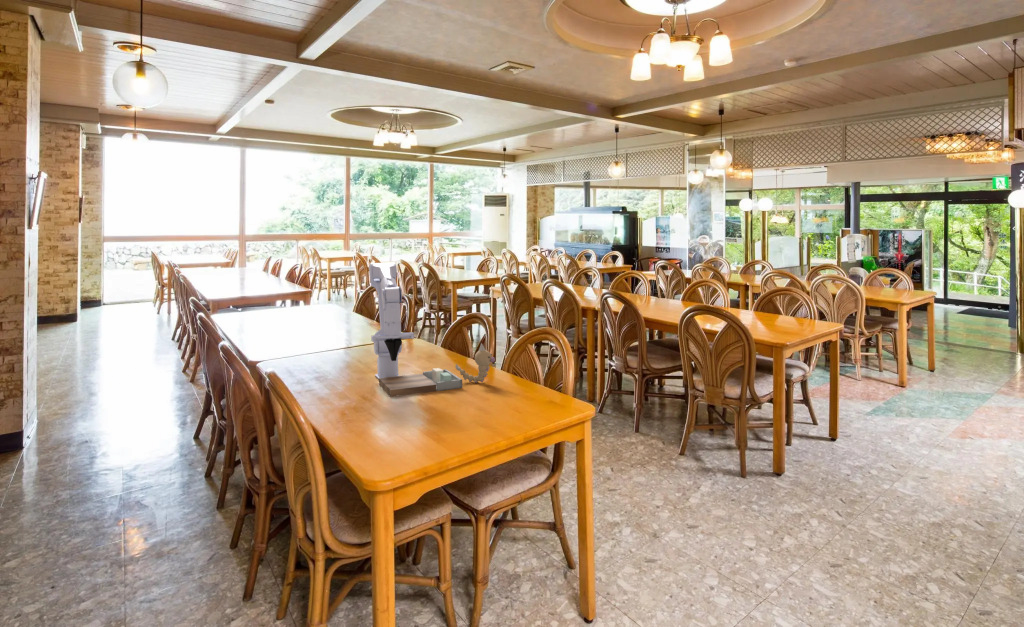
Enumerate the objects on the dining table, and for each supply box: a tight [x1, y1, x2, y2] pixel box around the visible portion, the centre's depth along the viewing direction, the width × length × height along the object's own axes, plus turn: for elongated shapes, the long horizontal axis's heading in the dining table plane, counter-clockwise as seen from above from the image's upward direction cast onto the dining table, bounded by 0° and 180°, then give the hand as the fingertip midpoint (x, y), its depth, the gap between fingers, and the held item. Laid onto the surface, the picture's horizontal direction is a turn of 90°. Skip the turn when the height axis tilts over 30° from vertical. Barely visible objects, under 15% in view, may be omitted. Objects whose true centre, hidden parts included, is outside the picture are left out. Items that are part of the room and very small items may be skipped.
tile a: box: [431, 367, 444, 383], centre depth 214 cm, size 4×4×3 cm
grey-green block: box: [440, 372, 451, 382], centre depth 207 cm, size 4×4×3 cm
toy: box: [455, 342, 496, 384], centre depth 213 cm, size 6×15×15 cm, turn 78°
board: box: [378, 373, 437, 398], centre depth 207 cm, size 17×16×2 cm
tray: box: [422, 368, 463, 392], centre depth 212 cm, size 17×9×3 cm, turn 26°
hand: (393, 360), depth 204 cm, fingers closed
